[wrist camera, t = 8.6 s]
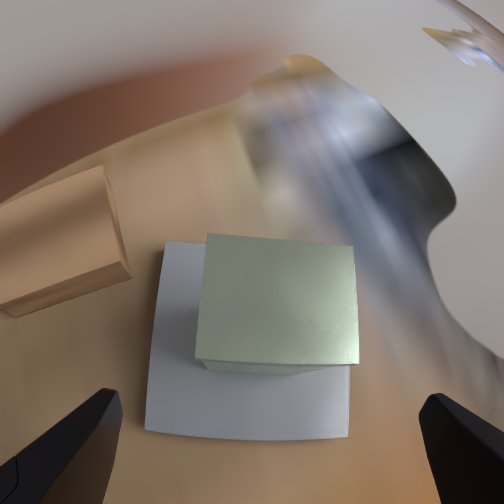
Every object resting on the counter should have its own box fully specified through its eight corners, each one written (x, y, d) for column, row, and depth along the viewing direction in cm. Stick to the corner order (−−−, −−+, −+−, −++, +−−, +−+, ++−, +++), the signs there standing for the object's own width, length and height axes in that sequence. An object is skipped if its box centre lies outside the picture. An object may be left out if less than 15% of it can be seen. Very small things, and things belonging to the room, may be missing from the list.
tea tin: (296, 376, 18) (358, 363, 9) (206, 372, 17) (194, 357, 9) (297, 308, 19) (352, 246, 11) (212, 303, 19) (207, 233, 11)
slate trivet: (339, 433, 18) (347, 436, 16) (149, 426, 17) (144, 429, 15) (337, 264, 23) (345, 255, 21) (169, 250, 22) (166, 240, 20)
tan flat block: (132, 277, 21) (120, 260, 18) (16, 317, 18) (-6, 306, 16) (112, 188, 23) (101, 164, 21) (10, 228, 21) (-7, 210, 18)
